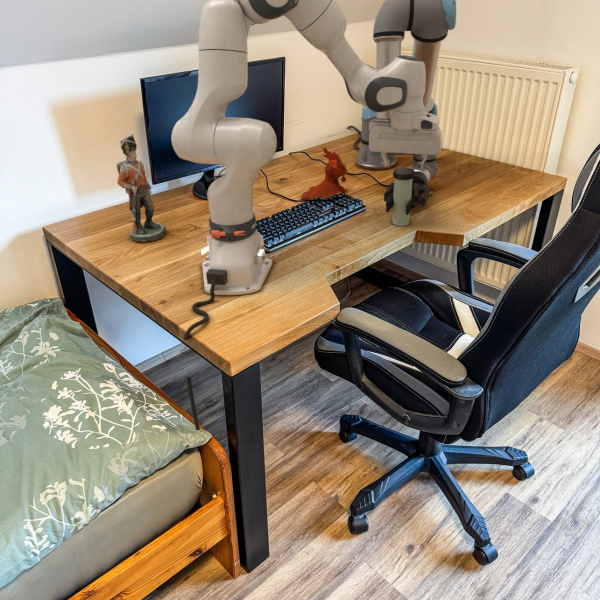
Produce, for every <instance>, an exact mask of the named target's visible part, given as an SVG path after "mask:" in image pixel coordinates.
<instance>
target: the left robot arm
mask: <svg viewBox="0 0 600 600" xmlns="http://www.w3.org/2000/svg"><path fill="white" fill-rule="evenodd" d="M281 17H285V18H287V20H288V21H290V23H291V24H292V25H293V26H294V28H295V29H296V30H297V31H298V33H299V34H300V35H301V36H302V37H303V38H304V39H305V40H306V41H307V42H308V43H309V44H310V45H311V46H312V47H314V48H315V49H316V50H318V51H319V52H320V53H322V54H324V55H325V56H326V57H327V59H329V61H330V62H331V64H332V65H333V66H334V67H335V69H336V70H337V71H338V73H339V74H340V75H341V77H342V79H343V81H344V84H345V88H346V91H347V95H348V97H350V99H351V100H352V101H353V102H354V103H357V104H359V105H362V107H363V106H365V107H366V108H368V109H370V110H372V111H374V112H385V111H389V110H391V116H390V118H375V119H373V120H371V121H370V123H369V131H370V133H371V134H370V140H369V149H370V150H371V151H372V152H381V157H382V159H383V160H384V162H385V163H384V167H390V162H391V160H388V159H387V157H386V154H387V153H404V154H421V155H422V158H424V159H423V160H422V161H421V162H418V167H417V169H421V170H422V169H423V164H424V162H425V161H426V159H427V158H428V155H436V156H439V154H440V153H441V152H442V149H443V148H442V147H443V134H442V129H441V127H440V126H439V124H440V117H439V115H437V116H436V115H433V114H430V113H428V112H425V111H423V110H424V105H423V96H424V93H425V82H426V72H425V64H424V62H423V61H422V60H421V59H419V58H416V57H412V55H404V54H403V55H402V54H401V56H397V57H396V58H395V60H394V61H393V62H392V63H390V64H389V65H388V66H386V67H385V68H383V69H381V70H379V71H378V70H377V69H376V67H373V66H372V65H370V64H367V63H365V62H364V61H362V60H361V59H360V57H359V55H358V54H357V53H356V52H355V50H354V48H352V46H351V45H350V43H349V42H348V41H347V38H346V37H345V33H346V31H347V30H346V29H347V23H348V22H347V21H348V20H347V18H346V16H345V14H344V11H343V10H342V8H341V6H340V5H339V3H338V1H337V0H207V1H206V2H205V3H204V4H203V6H202V8H201V14H200V19H199V28H198V29H199V30H198V72H197V73H198V74H197V75H198V76H197V87H196V93H195V96H194V99H193V101H192V103H191V106H190V107H189V109H188V110H187V112H186V113H185V114H184V115H183V116H182V117H181V118H179V120H177V121H176V123H175V125H174V126H173V127H172V128H173V129H172V131H171V139H170V140H171V145H172V148H173V151H174V152H175V154H176V155H177V156H178V158H180V159H181V160H185V161H189V162H191V163H195V164H201V165H203V164H204V165H216V166H217V165H219V166H224V172H225V174H224V175H222V176H220V177H218V178H217V179H215V180H213V181H212V182H211V183H210V185H209V186H208V189H207V191H206V195H207V203H208V212H209V218H208V229H209V234H208V235H207V236H206V243H207V246H206V247H205V248H204V249H202V250H201V251H200V252H201V255H204V254H205V253H207V252H208V255H206V256H205V260H204V261H203V262H202V263H201V268H202V278H203V290H204V292H205V293H207V294H210V298H209V299H207V300H204V301H197V302H194V303H193V304H192V306H191V309H192V310H193V312H195V313H197V314H200V315H202V316H204V318H202V319H201V320H199V321H195V322H194V323H193V324H191V325H190V326H189V327H188V328H187V330H186V331H185V333H184V338H183V341H187V340H189V338H190V334H191V333H192V331H194V330H195V329H196V328H198V327H200V326H202V325H204V324H205V323H207V322H208V321H209V318H210V316H209V313H208V312H206V311H205V310H203V309H200V308H198V307H202V306H207V305H209V304H212V303H213V302H214V300H215V298H216V296H239V295H240V296H241V295H249V294H253V293H256V292H259V291H260V290H261V288H262V287H263V286H264V283H265V280H266V278H267V276H268V274H269V273H270V271H271V268H272V266H273V265H274V264H273V260H272V259H271V258H268V257H266V249H265V242H264V235H263V234H262V233H260V232H259V231H258V230H257V218H256V214H255V212H254V200H253V191H254V190H253V188H254V183H255V181H256V178H257V175H258V174H259V172H260V171H261V170H262V168H264V167H265V166H266V165H268V164H269V163H270V162H271V161H272V160H273V158H274V156H275V154H276V151H277V146H278V141H277V140H278V139H277V135H276V133H275V130H274V128H273V127H272V126H271V124H270V123H268V122H266V121H263V120H260V119H256V118H252V117H251V118H250V117H232V116H231V117H229V116H226V112H227V111H226V110H227V108H228V106H229V104H230V103H232V102H233V101H235V100H238V99H239V98H241V97H242V96H243V95H244V93H245V92H246V90H247V88H248V64H249V63H248V60H249V59H248V37H249V32H250V29H251V27H252V26H254V25H263V24H266V23H269V22H271V21H273V20H276V19H279V18H281ZM372 121H374V122H372ZM186 381H187V389H188V395H189V402H190V406H191V412H192V417H193V422H194V426H195V431H196V430H200V429H201V428H200V424H199V417H198V414H197V408H196V402H195V396H194V389H193V383H192V377H191V376H187V377H186ZM200 431H201V430H200Z"/></svg>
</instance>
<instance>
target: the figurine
mask: <svg viewBox="0 0 600 600" xmlns="http://www.w3.org/2000/svg"><path fill="white" fill-rule="evenodd" d="M119 142H120V143H119V144H120V149H121V150H122V153H123V155H124V156H125V160H122V161H119V162H117V163H116V171H117V172H118V177H117V180H116V181H117V183H116V184H117V185H118V186H119V187H120V188H122V189H124V190H125V194H127V195H128V209H129V211H130V212H131V214H132V215H131V221H132V229H131V230H130V231H129V238H130V239H131V240H132V241H136V242H142V243H143V242H144V243H145V242H148V241H150V242H151V241H157V240H159V239H161V238H163V237H164V236H165V235H166V226H165V225H164V224H163V223H160V222H154V221H153V216H154V212H155V206H154V203H153V200H152V197H151V195H152V186H151V184H150V183H149V181H148V178H147V176H146V171H145V164H144V162H143V161H142V160H137V157H138V155H137V147H138V144H137V142H136V139H135V136H134V134H133V132H131V133H130V134H129V135H128V137H125V138H123V139H122V140H120V141H119ZM142 208H144V215H145V220H144V223H143V224H142V221H141V220H142V219H141V218H142V216H141V213H142V211H141V209H142Z"/></svg>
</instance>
